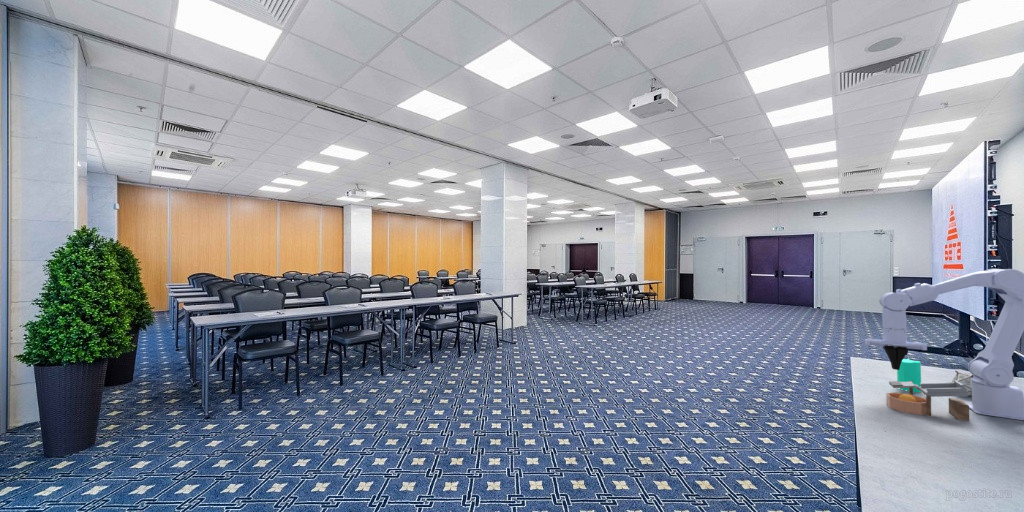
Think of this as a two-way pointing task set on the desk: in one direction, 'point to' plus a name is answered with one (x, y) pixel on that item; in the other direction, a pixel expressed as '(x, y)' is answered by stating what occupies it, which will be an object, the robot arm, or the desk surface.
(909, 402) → the bowl
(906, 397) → the ball
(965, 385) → the game die
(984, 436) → the desk surface
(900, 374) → the candle
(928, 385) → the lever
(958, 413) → the lever stand
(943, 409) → the desk surface
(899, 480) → the desk surface
